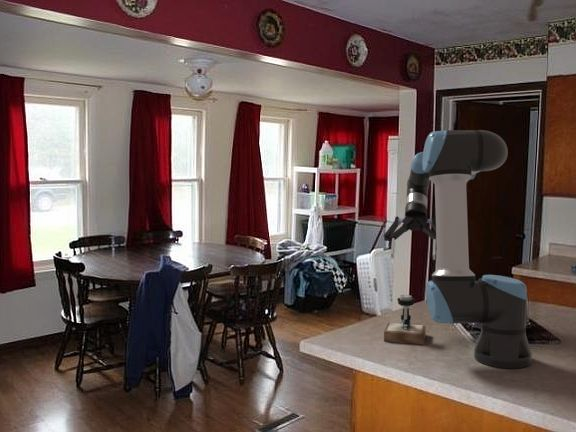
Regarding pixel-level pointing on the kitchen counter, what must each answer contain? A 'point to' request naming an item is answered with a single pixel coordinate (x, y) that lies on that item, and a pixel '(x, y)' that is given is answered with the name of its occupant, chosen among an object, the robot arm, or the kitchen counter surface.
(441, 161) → the robot arm
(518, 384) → the kitchen counter surface
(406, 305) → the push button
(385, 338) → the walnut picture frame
